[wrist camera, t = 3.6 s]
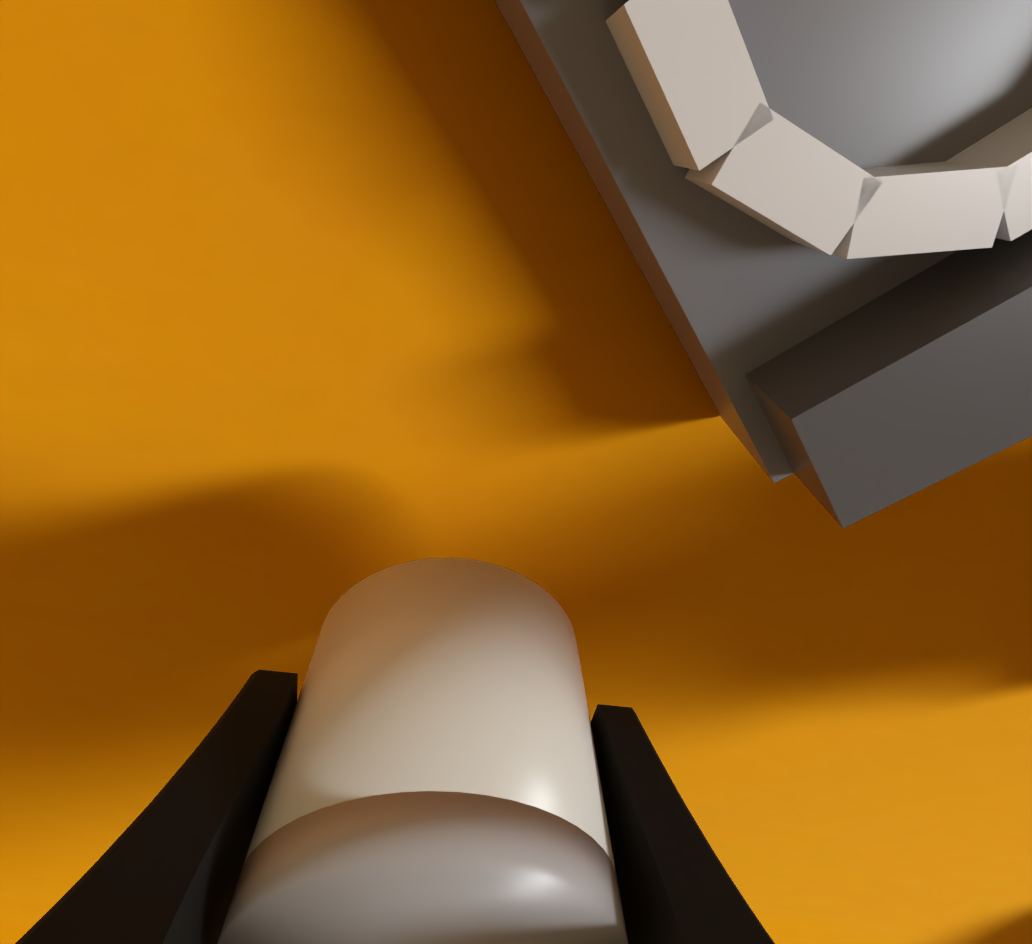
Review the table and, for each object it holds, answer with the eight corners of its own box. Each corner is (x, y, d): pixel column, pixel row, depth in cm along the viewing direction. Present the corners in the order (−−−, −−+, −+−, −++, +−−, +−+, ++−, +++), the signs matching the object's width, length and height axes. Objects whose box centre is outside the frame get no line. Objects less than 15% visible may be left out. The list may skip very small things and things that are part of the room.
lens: (622, 677, 12) (697, 984, 8) (427, 768, 13) (398, 1076, 9) (479, 510, 10) (472, 809, 6) (261, 639, 11) (118, 964, 7)
